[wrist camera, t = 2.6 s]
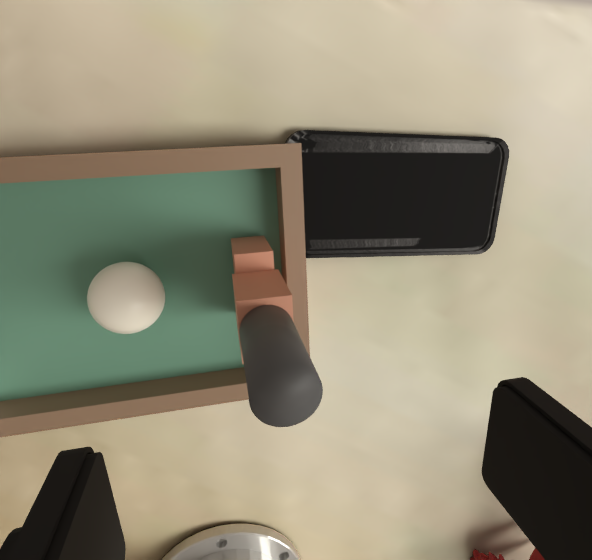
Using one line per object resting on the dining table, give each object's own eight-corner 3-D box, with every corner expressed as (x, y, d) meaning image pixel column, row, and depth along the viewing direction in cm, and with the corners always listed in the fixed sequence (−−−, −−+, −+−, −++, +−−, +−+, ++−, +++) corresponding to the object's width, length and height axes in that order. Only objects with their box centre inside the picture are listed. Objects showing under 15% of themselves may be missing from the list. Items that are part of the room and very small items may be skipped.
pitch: (301, 366, 29) (318, 407, 25) (-76, 420, 25) (-141, 481, 21) (291, 143, 25) (309, 142, 20) (-179, 166, 20) (-294, 171, 16)
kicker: (272, 311, 26) (324, 452, 14) (235, 315, 26) (255, 464, 14) (267, 235, 25) (320, 319, 12) (227, 238, 24) (242, 329, 12)
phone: (286, 129, 24) (512, 138, 26) (283, 130, 25) (501, 138, 28) (283, 260, 26) (491, 255, 29) (281, 256, 27) (481, 251, 30)
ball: (173, 312, 25) (166, 341, 22) (105, 320, 25) (86, 351, 21) (163, 250, 24) (154, 269, 20) (91, 257, 23) (68, 277, 20)
